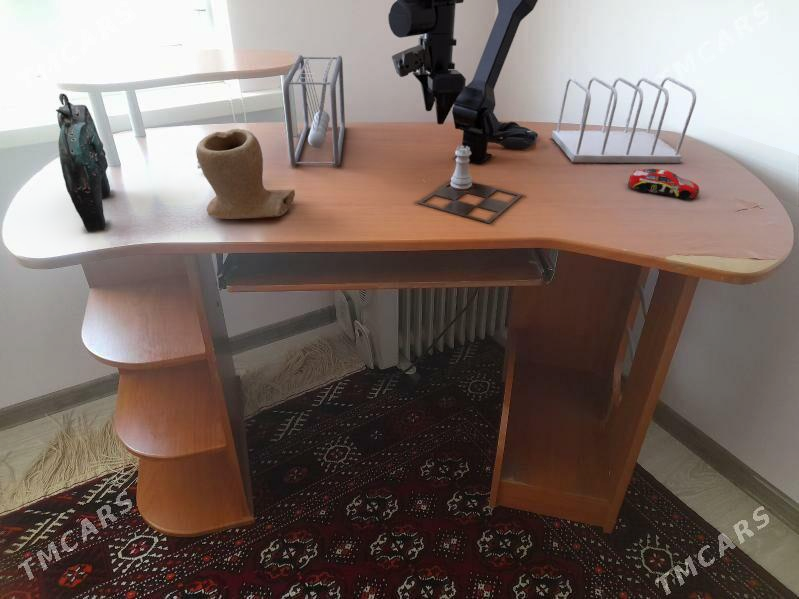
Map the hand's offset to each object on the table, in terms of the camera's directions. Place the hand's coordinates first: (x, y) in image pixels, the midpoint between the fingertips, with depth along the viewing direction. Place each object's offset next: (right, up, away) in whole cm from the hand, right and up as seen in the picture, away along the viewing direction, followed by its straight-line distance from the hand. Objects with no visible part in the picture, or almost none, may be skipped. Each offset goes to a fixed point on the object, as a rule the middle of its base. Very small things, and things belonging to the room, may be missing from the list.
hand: (434, 117), depth 109 cm
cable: (+18, +3, +26) cm, 32 cm away
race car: (+46, -15, +1) cm, 49 cm away
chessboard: (+7, -17, -4) cm, 19 cm away
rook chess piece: (+6, -14, +2) cm, 15 cm away
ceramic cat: (-62, -20, -10) cm, 66 cm away
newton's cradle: (-26, 0, +20) cm, 33 cm away
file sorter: (+44, -1, +21) cm, 49 cm away
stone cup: (-34, -21, -11) cm, 42 cm away
